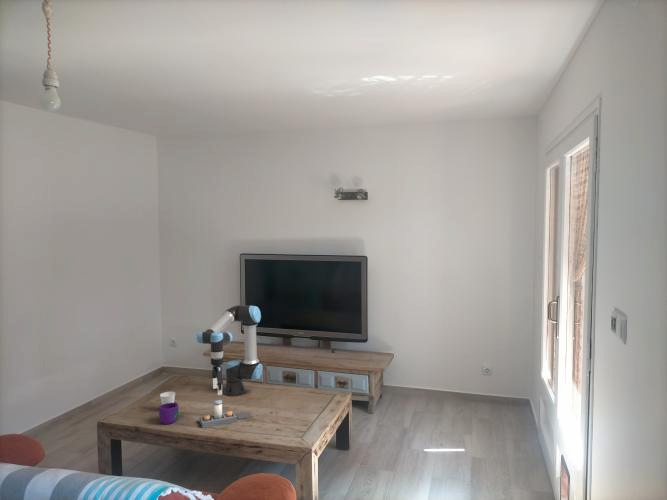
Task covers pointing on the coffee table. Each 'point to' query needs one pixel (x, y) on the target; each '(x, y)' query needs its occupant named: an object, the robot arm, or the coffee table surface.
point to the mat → (243, 415)
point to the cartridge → (217, 409)
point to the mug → (168, 413)
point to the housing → (218, 420)
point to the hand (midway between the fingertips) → (217, 391)
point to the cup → (167, 397)
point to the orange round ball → (206, 417)
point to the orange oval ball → (229, 414)
